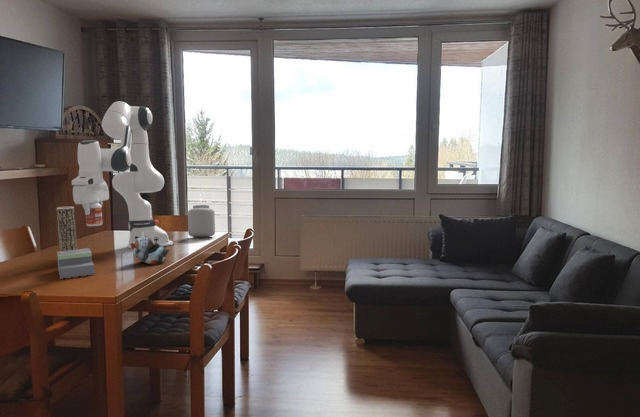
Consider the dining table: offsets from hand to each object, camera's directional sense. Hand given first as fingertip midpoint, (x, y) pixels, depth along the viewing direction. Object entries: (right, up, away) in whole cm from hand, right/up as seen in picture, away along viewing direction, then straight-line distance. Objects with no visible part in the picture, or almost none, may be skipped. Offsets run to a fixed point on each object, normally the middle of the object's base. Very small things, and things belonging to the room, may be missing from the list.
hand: (93, 213), depth 197 cm
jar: (+26, -15, +75) cm, 81 cm away
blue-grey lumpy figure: (+19, -22, +13) cm, 32 cm away
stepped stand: (-6, -24, -3) cm, 25 cm away
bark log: (-18, -22, +16) cm, 33 cm away
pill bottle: (0, -5, +1) cm, 5 cm away
